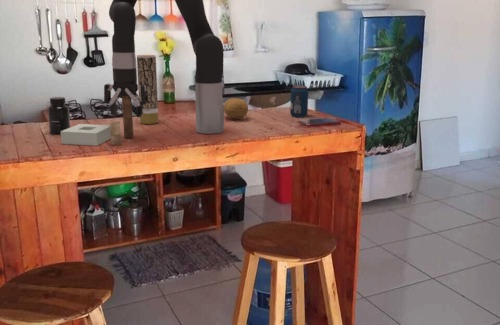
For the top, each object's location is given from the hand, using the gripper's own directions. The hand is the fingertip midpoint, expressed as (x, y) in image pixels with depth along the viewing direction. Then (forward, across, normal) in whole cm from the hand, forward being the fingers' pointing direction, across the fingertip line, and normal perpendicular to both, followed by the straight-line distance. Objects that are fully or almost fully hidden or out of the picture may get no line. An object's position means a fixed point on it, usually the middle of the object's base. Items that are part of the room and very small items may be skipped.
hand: (126, 116), depth 173 cm
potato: (+7, -28, -39) cm, 49 cm away
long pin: (+7, 0, 0) cm, 7 cm away
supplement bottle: (+8, +26, -2) cm, 27 cm away
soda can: (+6, -52, -49) cm, 72 cm away
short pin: (+7, 0, +10) cm, 12 cm away
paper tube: (+7, +2, -24) cm, 25 cm away
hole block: (+7, +11, +7) cm, 15 cm away
